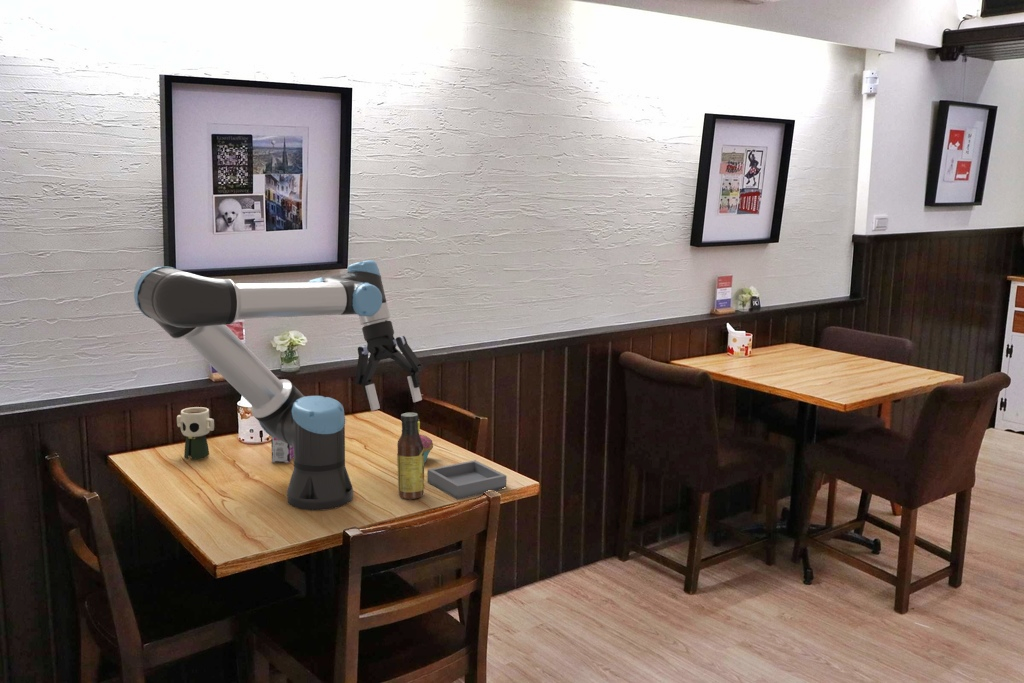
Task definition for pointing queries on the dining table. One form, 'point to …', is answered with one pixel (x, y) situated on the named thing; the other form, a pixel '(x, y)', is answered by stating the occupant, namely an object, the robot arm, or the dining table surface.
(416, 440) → the sauce bottle
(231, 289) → the robot arm
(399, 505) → the dining table surface
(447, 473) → the tray
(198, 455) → the character mug
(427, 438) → the cupcake
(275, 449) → the candy bar box
